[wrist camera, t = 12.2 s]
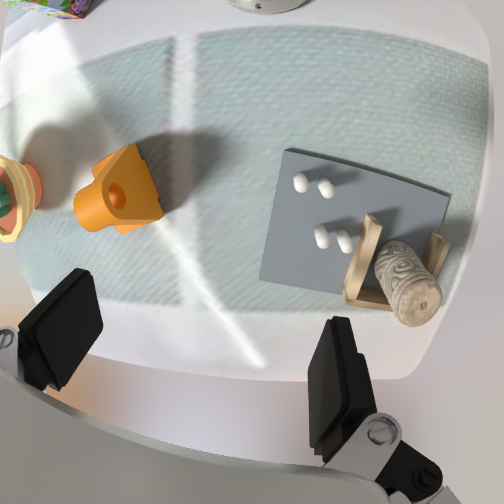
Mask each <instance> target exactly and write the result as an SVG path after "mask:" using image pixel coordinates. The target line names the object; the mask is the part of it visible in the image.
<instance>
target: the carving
mask: <svg viewBox="0 0 504 504" xmlns="http://www.w3.org/2000/svg"><path fill="white" fill-rule="evenodd" d="M374 271H375V274H376V277H377V279H378V280H379V282H380V285H381V287H382V288H383V292H384V294H385V295H386V297H387V299H388V302H389V304H390V306H391V308H392V310H393V312H394V314H395V316H396V318H397V319H398V320H399V321H400V322H401V323H402V324H404V325H406V326H409V327H417V326H421V325H423V324H425V323H426V322H428V321H429V320H430V319H431V318H432V317H433V316H434V315H435V314H436V312H437V311H438V309H439V307H440V305H441V302H442V291H441V288H440V286H439V284H438V283H437V281H436V280H435V279H434V277H433V276H432V275H431V274H430V273H429V272H428V271H427V270H426V269H425V268H424V266H423V264H422V263H421V261H420V259H419V258H418V257H417V255H416V254H415V252H414V251H413V250H412V249H411V248H410V247H409V246H407V245H406V244H404V243H403V242H400V241H389V242H388V243H386V244H385V245H383V246H382V247H381V248H380V249H379V250H378V252H377V254H376V256H375V259H374Z"/></svg>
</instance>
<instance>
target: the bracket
mask: <svg viewBox="0 0 504 504" xmlns="http://www.w3.org/2000/svg"><path fill="white" fill-rule="evenodd" d="M92 173H93V176H94V178H95V180H94V181H93V183H91V184H90V185H88V186H86V187H85V188H83V189H81V190H80V191H78V192H77V194H76V196H75V198H74V212H75V215H76V218H77V220H78V222H79V223H80V225H81V226H82V227H83V228H84V229H86V230H87V231H90V232H97V231H99V230H101V229H103V228H106V227H108V226H112V225H115V227H116V229H117V231H118V232H120V233H126V232H128V231H131V230H133V229H136V228H139V227H141V226H144V225H147V224H149V223H152V222H155V221H157V220H160V219H161V218H162V217H163V216H164V213H163V211H162V208H161V206H160V203H159V201H158V199H157V198H158V197H159V194H158V192H157V190H156V187H155V185H154V182H153V180H152V177H151V175H150V172H149V170H148V167H147V164H146V162H145V160H143V161H142V159H141V156H140V154H139V151H138V148H137V146H136V144H132V145H128V146H127V147H125V148H123V149H121V150H119V151H117V152H116V153H114V154H112V155H110V156H108V157H107V158H105V159H103V160H102V161H100V162H98V163H97V164H95V165H94V166H93V168H92Z"/></svg>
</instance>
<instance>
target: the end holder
mask: <svg viewBox="0 0 504 504" xmlns="http://www.w3.org/2000/svg"><path fill="white" fill-rule="evenodd" d="M382 227H383V226H382V225H381V224H380V223H379V222H378V221H377V219H376V218H375V217H374V216H373V215H369V214H366V217H365V220H364V223H363V227H362V230H361V233H360V236H359V239H358V242H357V246H356V249H355V252H354V255H353V258H352V261H351V263H350V266H349V269H348V272H347V275H346V278H345V280H344V283H343V286H342V292H343V295H344V299H345V302H346V305H350V306H357V307H363V308H370V309H377V310H384V311H391V312H393V310H392V308H391V306H390V304H389V302H388V299H387V297H386V295H385V294H384V292H383V290H381V289H376V288H370V287H364V286H361V285H362V283H363V280H364V278H365V275H366V272H367V270H368V267H369V264H370V262H371V259H372V256H373V253H374V250H375V248H376V245H377V242H378V239H379V236H380V233H381V230H382ZM449 247H450V244H449V243H448V242H447V241H446V240H444V239H443V238H442V237H441V236H440V235H439V234H438V233H434V232H432V235H431V237H430V240H429V243H428V245H427V248H426V251H425V253H424V256H423V258H422V261H421V263H422V264H423V266H424V268H425V269H426V270H427V271H428V272H429V273H430V274H431V275H432V276H433V277H434V279H435V280H436V278H437V276H438V274H439V271H440V269H441V267H442V264H443V262H444V260H445V257H446V255H447V252H448V250H449Z"/></svg>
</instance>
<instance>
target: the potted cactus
mask: <svg viewBox="0 0 504 504" xmlns="http://www.w3.org/2000/svg"><path fill="white" fill-rule="evenodd" d="M41 197H42V185H41V180H40V176H39V174H38V173H37V171H36V169H35V168H34V167H33V166H31V165H29V164H27V163H26V164H24V165H22V164H20V163H18V162H16V161H15V160H10V159H8V158H6V157H4V156H2V155H0V240H2V241H3V242H4V243H5V242H13V241H15V240H16V239H17V238H18V237H19V236H20V234H21V232H22V230H23V229H24V227H25V225H26V222H27V221H28V219H29V217H30V216H31V214H32V212H33V210H34V209H36V208H37V207H38V205H39V203H40V202H41Z"/></svg>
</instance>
